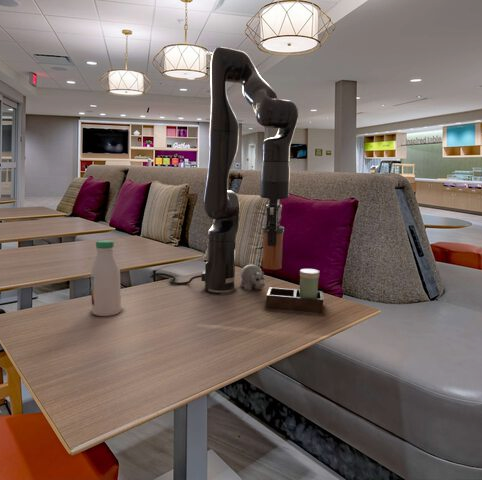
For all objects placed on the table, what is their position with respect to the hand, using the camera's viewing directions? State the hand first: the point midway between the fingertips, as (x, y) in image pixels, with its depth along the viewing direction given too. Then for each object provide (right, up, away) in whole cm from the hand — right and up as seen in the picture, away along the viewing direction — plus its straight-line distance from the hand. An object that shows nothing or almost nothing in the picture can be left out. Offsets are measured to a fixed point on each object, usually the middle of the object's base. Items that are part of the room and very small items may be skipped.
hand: (272, 243), depth 111 cm
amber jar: (0, -6, +1) cm, 7 cm away
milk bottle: (-46, -19, +5) cm, 50 cm away
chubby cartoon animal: (-4, -16, +28) cm, 33 cm away
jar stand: (+8, -19, +12) cm, 24 cm away
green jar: (+11, -19, +11) cm, 25 cm away
